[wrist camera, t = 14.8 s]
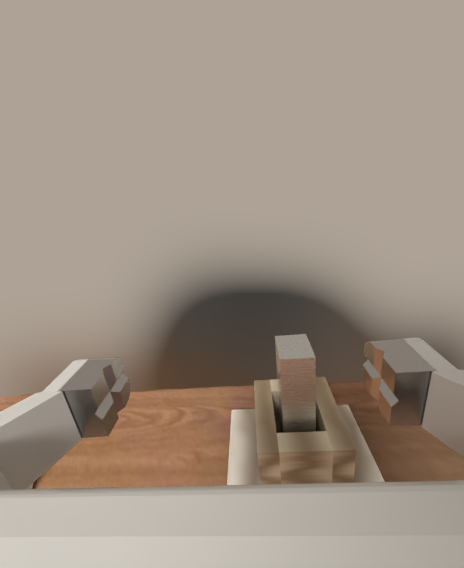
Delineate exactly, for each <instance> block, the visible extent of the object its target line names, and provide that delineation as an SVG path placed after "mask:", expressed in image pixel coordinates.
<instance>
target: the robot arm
mask: <svg viewBox="0 0 464 568" xmlns="http://www.w3.org/2000/svg"><path fill="white" fill-rule="evenodd" d="M364 354H365V355H366V357H367V358H368V360H367V361H366V362H365V363H364V364H363V378H364V383H365V386H366V388H367V390H368V392H369V394H370V395H371V396H372V397H374V398H376V399H377V400H378V408H379V410H380V412H381V413H382V415H383V416H384V418H385V420H386V421H387V423H388V425H389V426H422V428H424V429H425V430H426V431H428V432H429V433H430V434H432V435H433V436H434V437H436V438H437V439H439V440H440V441H441V442H443V443H444V444H445V445H447V446H448V447H450V448H451V449H452V450H454V451H455V452H456V453H458V454H459V455H461V456H462V457H463V458H464V370H458V369H456V368H455V367H454V366H453V365H452V364H450V363H449V362H448V361H447V360H446V359H444V358H443V357H442V356H441V355H440V354H439V353H437V352H436V351H435V350H434V349H432V348H431V347H430V346H429V345H428V344H427V343H425V342H424V341H423V340H422V339H420V338H417V337H415V338H405V339H397V340H385V341H373V342H366V344H365V348H364ZM124 369H125V366H124V363H123V360H122V359H120V358H119V357H116V358H92V359H78V360H75V361H73V362H72V363H71V364H70V365H69V366H68V367H67V368H66V369H65V370H64V371H63V372H62V373H61V374H60V375H59V376H58V377H57V378H56V379H55V380H54V381H53V382H52V383H51V384H50V385H49V386H47V388H46V389H44V390H43V391H42V392H40V393H35V394H33V395H32V396H30V397H28V398H26V399H24V400H22V401H20V402H18V403H16V404H14V405H12V406H11V407H9V408H7V409H5V410H3V411H1V412H0V568H464V480H459V481H408V482H357V483H306V484H256V485H206V486H156V487H106V488H56V489H32V487H33V483H34V482H35V481H36V480H37V479H38V478H39V477H40V476H41V475H43V474H44V473H45V472H46V471H47V470H48V469H49V468H50V467H52V466H53V465H54V464H55V463H56V462H57V461H58V460H59V459H61V458H62V457H63V456H64V455H65V454H66V453H67V452H69V451H70V450H71V449H72V448H73V447H74V446H75V445H76V444H78V443H79V442H80V441H81V440H82V438H91V437H106V436H109V434H110V432H111V431H112V429H113V427H114V425H115V424H116V422H117V420H118V414H117V413H118V412H119V411H120V410H121V409H123V408H124V407H125V406H126V404H127V402H128V400H129V395H130V383H129V379H128V378H127V377H126V376H125V375H124V374H123V371H124Z"/></svg>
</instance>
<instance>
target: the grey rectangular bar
mask: <svg viewBox="0 0 464 568" xmlns="http://www.w3.org/2000/svg"><path fill="white" fill-rule="evenodd" d="M275 345H276V361H277V378H278V394H279V411H280V427H281V433H290V432H316V357H315V355H314V352H313V350H312V347H311V345H310V343H309V340H308V338H307V336H306V334H300V335H285V336H275Z"/></svg>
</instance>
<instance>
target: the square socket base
mask: <svg viewBox="0 0 464 568" xmlns="http://www.w3.org/2000/svg"><path fill="white" fill-rule="evenodd" d="M254 393H255V409H239V410H232V414H231V430H230V446H229V462H228V478H227V485H256V484H306V483H357V482H385V481H384V479H383V477H382V475H381V473H380V471H379V468H378V466H377V464H376V462H375V460H374V458H373V456H372V454H371V452H370V450H369V448H368V445H367V443H366V441H365V439H364V437H363V435H362V433H361V431H360V429H359V427H358V425H357V422H356V420H355V418H354V416H353V414H352V412H351V410H350V408H349V406H348V405H337V404H336V401H335V399H334V397H333V394H332V392H331V390H330V387H329V385H328V383H327V381H326V378H325V377H316V432H290V433H281V427H280V411H279V394H278V379H275V380H258V381H257V380H256V381H254Z"/></svg>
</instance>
